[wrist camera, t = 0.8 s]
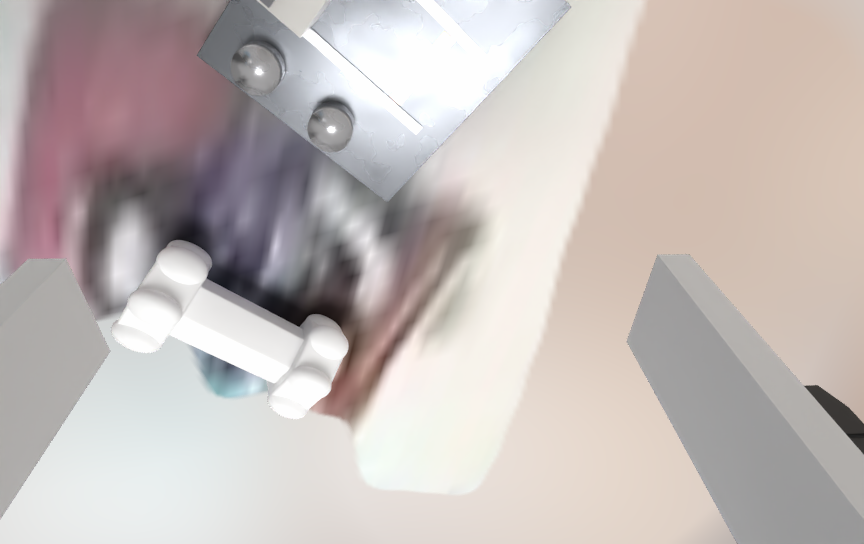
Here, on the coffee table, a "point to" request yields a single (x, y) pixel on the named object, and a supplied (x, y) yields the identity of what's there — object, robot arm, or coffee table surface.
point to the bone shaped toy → (231, 330)
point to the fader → (296, 12)
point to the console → (378, 72)
